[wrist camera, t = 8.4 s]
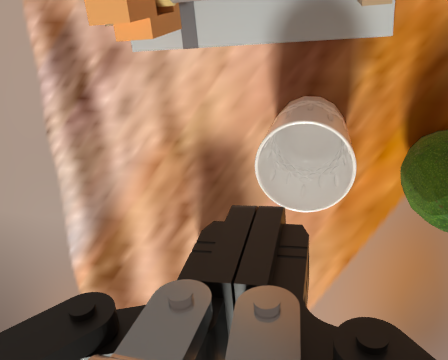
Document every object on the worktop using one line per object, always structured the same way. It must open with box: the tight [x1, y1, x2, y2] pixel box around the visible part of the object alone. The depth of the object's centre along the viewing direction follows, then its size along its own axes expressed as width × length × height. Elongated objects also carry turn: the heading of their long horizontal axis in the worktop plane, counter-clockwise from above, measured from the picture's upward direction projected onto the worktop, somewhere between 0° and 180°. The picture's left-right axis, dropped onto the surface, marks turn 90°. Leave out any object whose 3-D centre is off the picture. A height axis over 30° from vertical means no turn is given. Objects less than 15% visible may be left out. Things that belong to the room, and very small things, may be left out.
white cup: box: [255, 96, 356, 212], centre depth 38 cm, size 8×8×10 cm
